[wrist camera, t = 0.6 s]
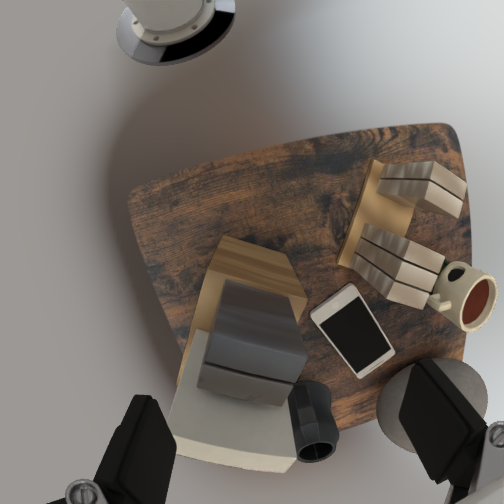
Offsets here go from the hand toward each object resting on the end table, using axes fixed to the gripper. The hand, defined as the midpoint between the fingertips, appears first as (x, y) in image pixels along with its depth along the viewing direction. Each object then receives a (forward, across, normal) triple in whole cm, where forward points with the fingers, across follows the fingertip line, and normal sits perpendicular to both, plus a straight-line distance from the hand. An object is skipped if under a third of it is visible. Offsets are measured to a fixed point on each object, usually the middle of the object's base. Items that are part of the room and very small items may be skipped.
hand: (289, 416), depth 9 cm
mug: (+27, -4, +25) cm, 37 cm away
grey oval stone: (+27, -24, +24) cm, 43 cm away
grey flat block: (+13, +3, +5) cm, 14 cm away
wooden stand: (+27, +3, +5) cm, 27 cm away
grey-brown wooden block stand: (+27, -16, -2) cm, 31 cm away
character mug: (+27, -24, +6) cm, 36 cm away
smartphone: (+27, -12, +14) cm, 33 cm away
